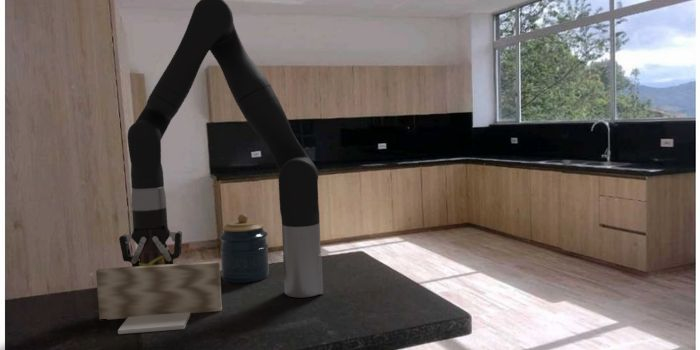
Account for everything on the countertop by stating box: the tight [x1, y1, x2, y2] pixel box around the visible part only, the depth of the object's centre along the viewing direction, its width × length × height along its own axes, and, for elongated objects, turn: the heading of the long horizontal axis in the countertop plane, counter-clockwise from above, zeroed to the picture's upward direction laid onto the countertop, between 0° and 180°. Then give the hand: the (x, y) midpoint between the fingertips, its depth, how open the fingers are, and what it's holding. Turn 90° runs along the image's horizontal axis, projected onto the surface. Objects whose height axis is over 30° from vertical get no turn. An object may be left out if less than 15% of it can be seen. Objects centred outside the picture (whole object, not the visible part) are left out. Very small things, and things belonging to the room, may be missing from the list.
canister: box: [219, 213, 270, 284], centre depth 148 cm, size 13×13×18 cm
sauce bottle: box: [139, 229, 167, 266], centre depth 126 cm, size 7×6×20 cm
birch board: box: [95, 260, 223, 320], centre depth 119 cm, size 26×2×11 cm, turn 98°
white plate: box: [117, 312, 191, 335], centre depth 113 cm, size 13×8×1 cm, turn 98°
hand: (153, 276), depth 126 cm, fingers closed on sauce bottle, 6 cm apart
